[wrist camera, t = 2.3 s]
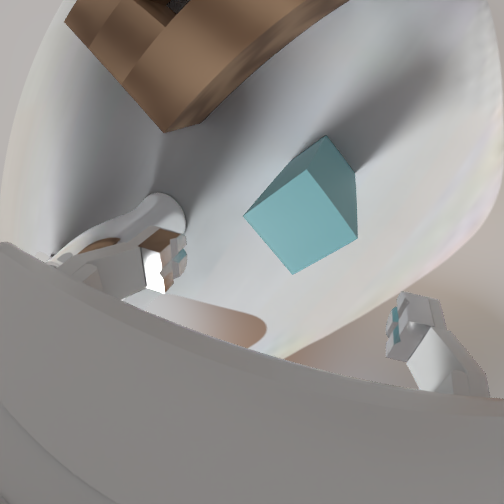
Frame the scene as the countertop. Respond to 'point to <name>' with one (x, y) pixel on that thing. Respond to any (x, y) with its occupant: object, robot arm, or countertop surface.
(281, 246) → the peg
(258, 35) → the socket block
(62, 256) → the beer glass
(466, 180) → the countertop surface
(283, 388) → the robot arm
